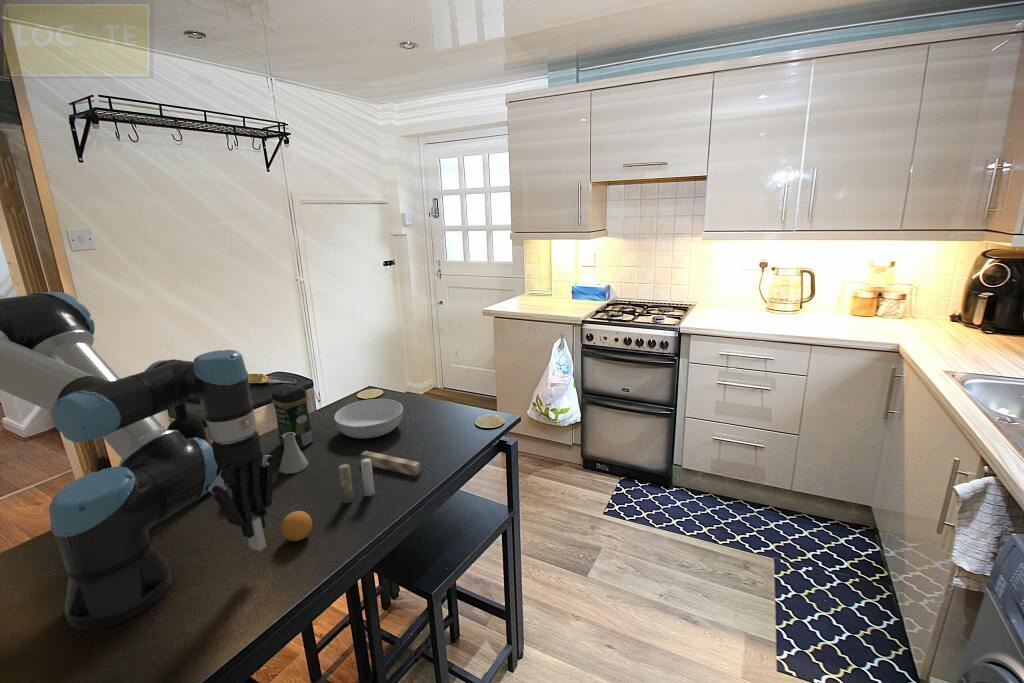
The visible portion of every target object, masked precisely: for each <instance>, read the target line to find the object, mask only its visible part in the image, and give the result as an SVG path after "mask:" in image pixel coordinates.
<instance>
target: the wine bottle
mask: <svg viewBox="0 0 1024 683" xmlns="http://www.w3.org/2000/svg"><path fill="white" fill-rule="evenodd" d="M173 408H174V412H175V416H176V418H175V419H174V420H172V421H171V422H170V424H169V425H168V427H167V428H166V430H178V431H179V432H180V433H181V434H182V435H183V436H184V437H185V439H186V440H187V439H189V438H200V439H203V440H205V441H206V442H207V443H208V444H209V442H208V438H207V435H206V431H205V426H204V423H203V422H202V421H201V420H200V419H199V418H197V417H195V416H192V415H191V416H190V415H189V414H188V411H187V406H186V403H184V404H180V405H178V406H175V407H173ZM212 496H213V495H212V494H211V493H209V492H207V493H205V494H204V495H203V496H201V497H200V499H198V500H197V501H193V502H192V503H196V502H202V501H204V500H206V499H208V498H211V497H212Z"/></svg>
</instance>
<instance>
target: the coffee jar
mask: <svg viewBox="0 0 1024 683" xmlns="http://www.w3.org/2000/svg"><path fill="white" fill-rule="evenodd" d="M271 400H272V403H273V407H274V410H275V416H276V423H277V424H276V425H277V431H278V432H277V433H278V438H279V439H278V440H279V443H280V445H281V446H282V447H284V439H283V438H282V436H283V434H286V433H288V432H294V433H296V435H295V440H296V443H297V445H298V447H299V449H302V448H305V447H307V446H309V445H310V444H312V443H313V441H314V435H313V434H314V433H313V430H312V425H311V421H310V415H309V410H308V409H309V408H308V395H307V391H306V388H305V387H303V386H299V385H295V384H292V383H291V384H290V383H287V382H286V383H283V384H280V385H277V386H274V388H273V389H272V390H271Z"/></svg>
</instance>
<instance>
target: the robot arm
mask: <svg viewBox="0 0 1024 683" xmlns="http://www.w3.org/2000/svg"><path fill="white" fill-rule="evenodd" d="M91 316H92V314H91V313H90V311H89V309H88V308H87V307H86V306H85V304H84V303H83V302H81V301H80V300H79V299H78V298H76V297H75V296H73V295H71V294H68V293H66V292H61V291H49V292H42V291H41V292H39V291H38V292H33V293H30V294H27V295H18V296H12V297H3V298H0V390H1V391H3V392H5V393H8V394H10V395H12V396H14V397H16V398H18V399H21V400H24V401H26V402H28V403H30V404H32V405H35V406H37V407H39V408H41V409H44V410H46V411H49V412H50V414H51V420H52V422H53V425H54V427H55V428H56V430H57V431H58V432H59V433H62V435H63V438H65V439H67V440H68V441H70V442H73V443H85V442H88V441H91V440H94V439H97V438H100V437H102V439H103V440H104V441H105V442H106V443H107V444H108V446H110V447H111V449H113V451H114V452H115V453H116V454H117V455H118V456H119V458H120V461H119V463H118V466H111V467H107V468H102V469H101V470H99V471H92V472H90V473H88V474H85V475H82V476H80V477H79V478H77V479H75V480H74V481H72V482H70V483H68V484H67V485H66V486H64V487H62V489H60V490H59V491H58V492H57V493H56V494H55V495H54V496H53V498H52V500H51V502H50V503H49V506H48V515H49V516H48V517H49V520H50V530H51V532H52V533H53V535H54V538H55V541H56V543H57V546H58V549H59V551H60V555H61V558H62V560H63V563H64V567H65V570H66V573H67V577H68V581H67V582H68V583H67V590H66V596H65V604H64V614H65V618H66V620H67V623H69V624H68V626H70V627H71V628H72V629H74V630H75V631H76V630H77V631H81V630H82V632H87V631H88V632H89V631H90V632H92V631H98V630H103V629H107V628H108V629H109V628H111V627H113V626H116V624H117V625H119V624H122V623H123V622H126V621H129V620H130V619H133V618H135V617H136V616H138V615H140V614H141V613H144V612H145V611H146V610H148V609H149V608H151V607H152V606H153V605H154V604H156V603H158V602H159V600H160V599H161V598H162V597H163V596H164V595H165V594H166V593H167V592H168V590H169V588H170V587H171V585H172V582H173V575H172V571H171V567H170V565H169V563H168V561H166V560H165V559H164V557H163V556H162V555H161V554H160V553H159V552H158V551H157V549H156V548H155V547H154V546H153V545H152V542H151V539H150V535H149V530H150V528H152V527H154V526H155V525H157V524H158V523H160V522H162V521H164V520H165V519H167V518H169V517H170V516H171V515H172V516H173V514H175V513H177V512H178V511H180V510H182V509H183V508H185V507H186V506H188V505H190V504H191V503H192V504H193V503H194V502H193V501H197V500H198V499H200V497H201V496H203V495H204V494H205V493H207V492H209V493H211V494H212V496H213V498H214V499H215V501H216V502H217V504H218V506H219V509H220V510H221V511H222V513H223V514H224V516H225V518H226V520H227V522H228V523H229V524H232V525H235V526H238V527H241V531H242V536H244V537H245V538H247V540H248V545H249V548H250V549H252V550H256V551H258V552H261V551H262V550H263V549H264V548H266V547H267V543H266V539H265V538H266V537H265V535H264V529H265V528H266V521H265V517H266V515H267V513H268V510H266V509H267V508H270V507H271V506H272V500H273V476H274V475H273V472H274V470H273V468H274V466H275V462H276V459H277V458H276V456H275V455H271V454H264V453H263V451H262V445H261V440H260V434H259V431H258V430H257V429H258V426H257V422H256V421H257V420H256V415H255V411H254V405H253V399H252V394H251V389H250V383H249V378H248V377H249V376H248V370H247V368H246V364H245V361H244V358H243V355H242V353H240V352H239V351H237V350H235V349H234V350H233V349H223V350H220V349H219V350H213V351H208V352H204V353H202V354H199V355H196V357H195V358H194V359H193V361H189V360H182V359H175V358H174V359H163V360H157V361H155V362H153V363H151V364H150V365H149V366H148V367H146V369H144V371H141V372H139V373H136V374H132V375H129V376H125V377H122V378H120V376H118V375H117V374H116V373H115V372H114V370H113V369H112V368H111V367H110V366H109V365H108V363H107V362H106V361H105V360H104V359H103V358H102V357H101V356H100V355H99V354H98V352H96V350H95V349H94V348H93V347H92V346H93V344H94V341H95V338H94V335H95V323H94V322H95V320H94V319H92V318H91ZM184 403H185V404H192V405H202V409H203V413H204V418H205V421H206V426H207V432H208V436H209V440H210V441H211V444H209V442H208V441H207V442H208V443H207V442H206V441H205V440H203V439H200V438H189V439H187V440H186V439H185V437H184V436H183V435H182V434H181V433H180V432H179V431H178V430H167V428H165V427H164V426H163V425H162V424H161V422H160V421H159V420H158V419H157V418H156V417H155V415H158V414H161V413H163V412H165V411H168V410H170V409H172V408H174V407H175V406H178V405H180V404H184ZM258 471H259V473H258ZM225 483H226V484H228V486H229V489H230V490H231V492H232V497H231V495H230V494H229V492H228V491H227V490H226V489H227V487H226V484H225ZM232 498H233V500H232ZM197 502H198V501H197Z"/></svg>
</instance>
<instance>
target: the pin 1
mask: <svg viewBox="0 0 1024 683" xmlns="http://www.w3.org/2000/svg"><path fill="white" fill-rule="evenodd" d="M338 471H339V478H340V484H341V485H340V486H341V493H342V501H343V503H344V504H349V503H352V502H353V501H354V500H355V497H354V491H353V483H352V473H351V466H350V464H349V463H343V464H340V465H339V466H338Z"/></svg>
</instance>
